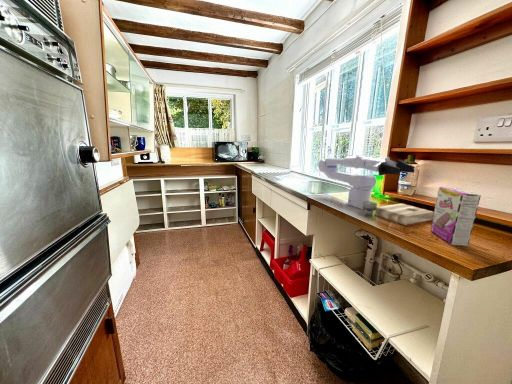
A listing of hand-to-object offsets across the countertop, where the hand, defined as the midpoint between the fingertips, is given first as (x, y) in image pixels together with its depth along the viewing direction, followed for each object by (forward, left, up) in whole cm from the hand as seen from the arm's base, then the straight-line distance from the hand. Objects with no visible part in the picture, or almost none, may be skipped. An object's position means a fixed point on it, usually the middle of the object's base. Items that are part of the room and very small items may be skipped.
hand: (406, 170), depth 83 cm
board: (-1, +5, -20) cm, 21 cm away
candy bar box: (+18, -3, -21) cm, 28 cm away
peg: (-8, -8, -20) cm, 23 cm away
